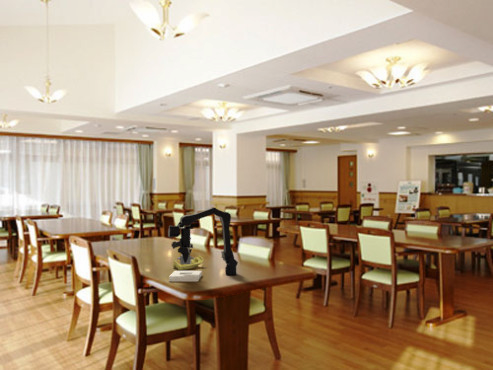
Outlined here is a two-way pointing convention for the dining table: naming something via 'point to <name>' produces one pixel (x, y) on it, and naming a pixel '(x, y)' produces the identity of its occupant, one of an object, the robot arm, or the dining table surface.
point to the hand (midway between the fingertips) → (185, 262)
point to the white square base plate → (185, 276)
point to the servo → (187, 259)
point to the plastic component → (194, 263)
